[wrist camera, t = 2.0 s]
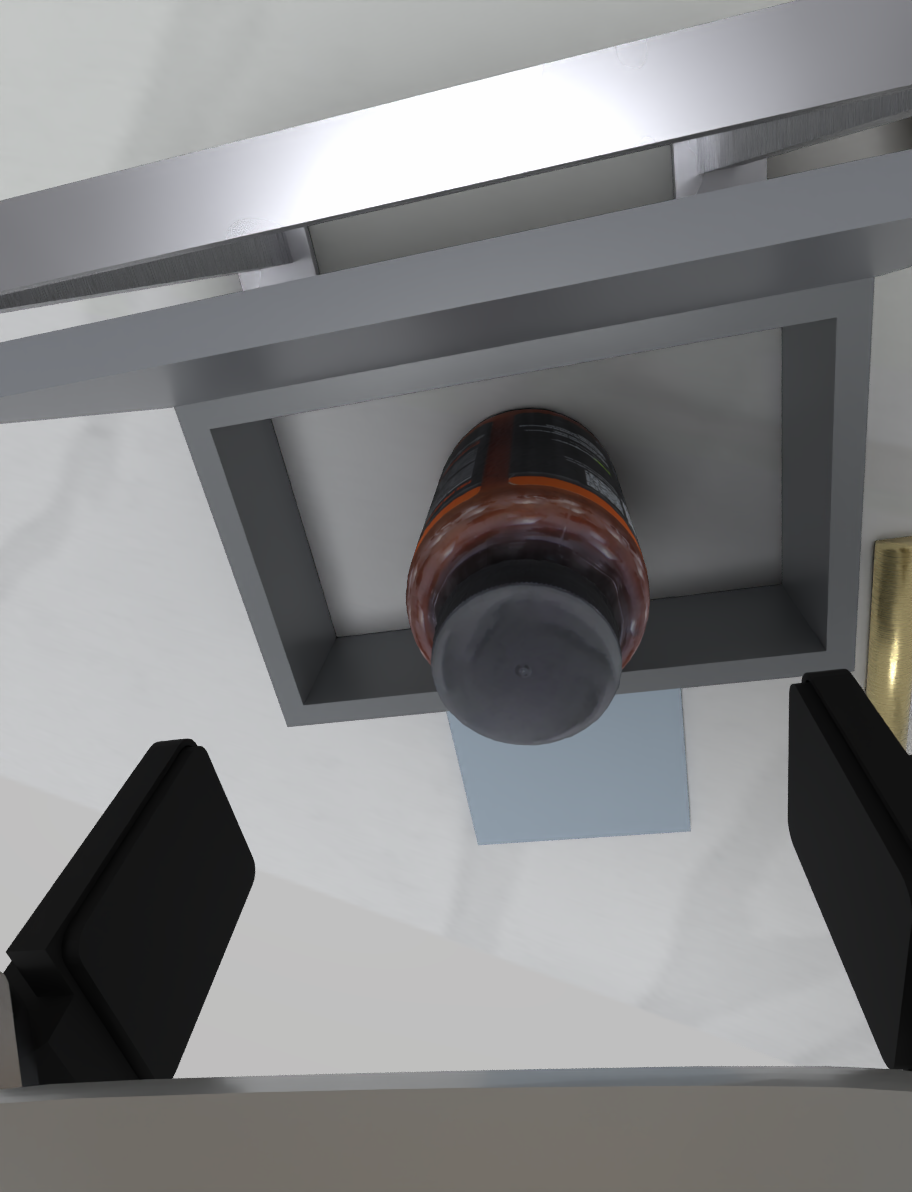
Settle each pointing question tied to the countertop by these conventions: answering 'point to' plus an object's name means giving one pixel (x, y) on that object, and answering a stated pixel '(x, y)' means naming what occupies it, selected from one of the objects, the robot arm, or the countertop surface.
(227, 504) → the case
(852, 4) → the stay bracket
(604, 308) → the lid
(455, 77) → the countertop surface
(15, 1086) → the robot arm
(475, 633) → the supplement bottle
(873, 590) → the rod
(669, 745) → the mat
